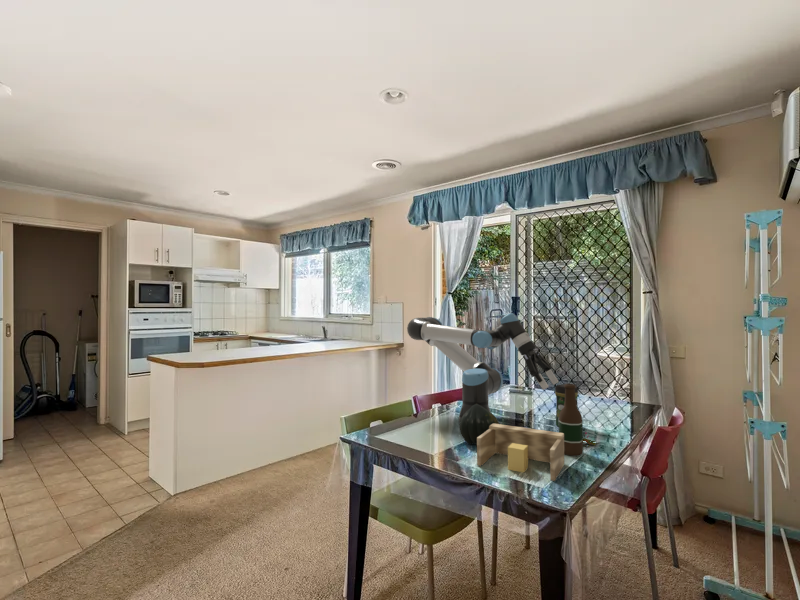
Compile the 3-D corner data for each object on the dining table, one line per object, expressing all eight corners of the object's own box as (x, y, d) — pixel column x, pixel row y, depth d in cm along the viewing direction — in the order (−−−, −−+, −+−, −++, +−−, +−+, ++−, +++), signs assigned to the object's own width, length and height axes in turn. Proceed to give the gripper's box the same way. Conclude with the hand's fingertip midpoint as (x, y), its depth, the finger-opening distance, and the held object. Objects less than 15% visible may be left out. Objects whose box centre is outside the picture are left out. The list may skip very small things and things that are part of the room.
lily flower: (589, 451, 149) (589, 438, 149) (559, 443, 159) (559, 431, 159) (606, 445, 156) (606, 432, 156) (576, 437, 166) (576, 426, 166)
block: (508, 469, 131) (507, 447, 131) (512, 464, 135) (512, 443, 136) (523, 472, 129) (523, 449, 129) (528, 467, 133) (527, 445, 133)
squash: (490, 438, 146) (496, 400, 155) (450, 433, 153) (459, 398, 163) (499, 456, 155) (505, 419, 164) (462, 451, 162) (469, 416, 171)
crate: (477, 465, 134) (476, 434, 135) (493, 451, 148) (492, 423, 148) (554, 480, 122) (554, 446, 122) (564, 463, 136) (563, 433, 136)
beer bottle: (571, 457, 142) (570, 387, 142) (554, 450, 149) (553, 383, 150) (588, 454, 145) (586, 385, 146) (570, 447, 152) (569, 382, 153)
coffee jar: (565, 422, 186) (565, 381, 187) (582, 426, 180) (581, 383, 180) (552, 426, 181) (551, 383, 182) (568, 430, 174) (567, 386, 175)
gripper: (520, 342, 178) (548, 386, 170) (540, 338, 197) (566, 377, 190) (506, 351, 181) (534, 394, 174) (527, 346, 201) (553, 385, 194)
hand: (551, 385), depth 182 cm, fingers open, 13 cm apart
